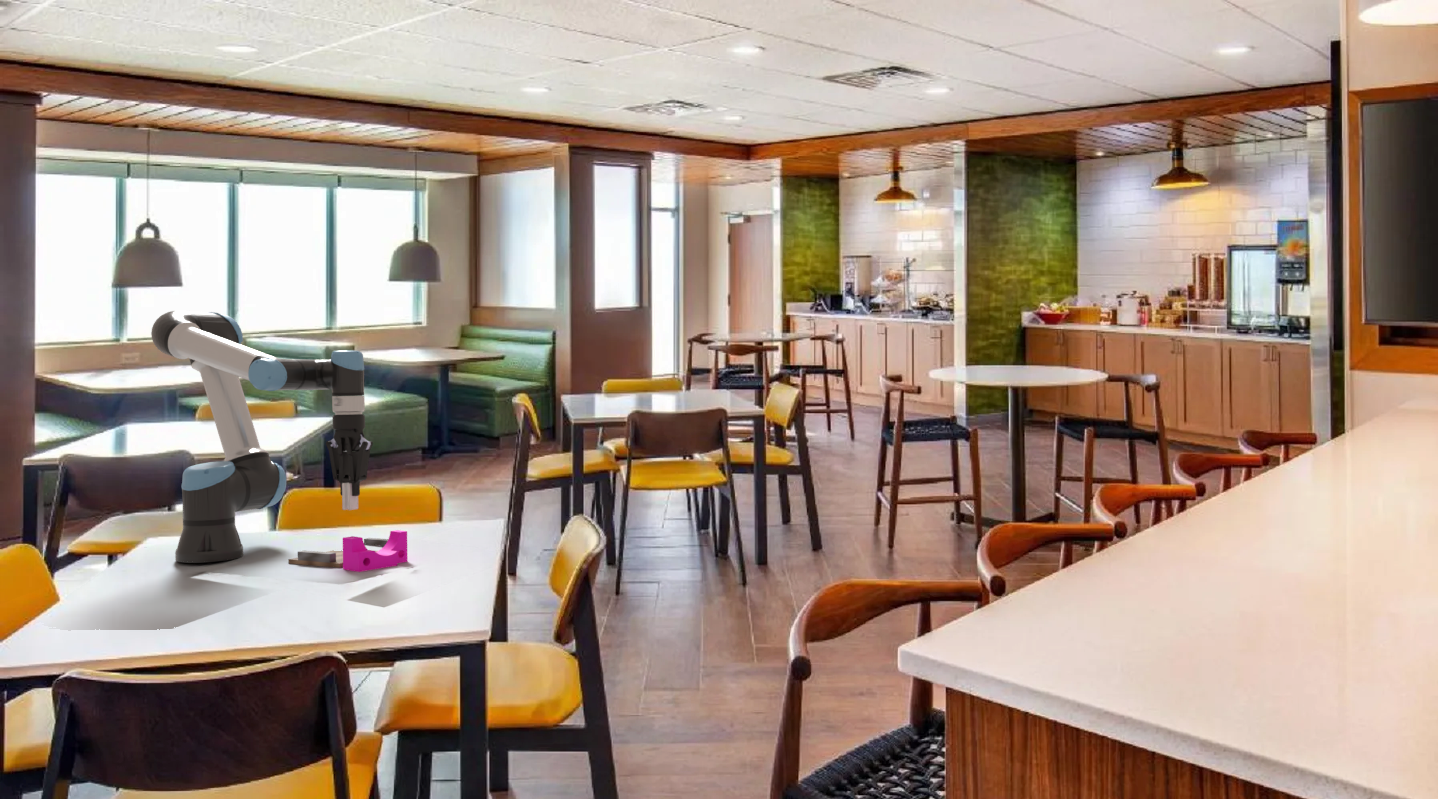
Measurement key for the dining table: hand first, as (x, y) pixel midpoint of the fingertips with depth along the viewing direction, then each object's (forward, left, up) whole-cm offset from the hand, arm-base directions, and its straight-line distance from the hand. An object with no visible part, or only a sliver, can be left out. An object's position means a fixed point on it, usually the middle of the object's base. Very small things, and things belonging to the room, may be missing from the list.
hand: (350, 509), depth 262 cm
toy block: (+15, -6, -12) cm, 20 cm away
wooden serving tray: (0, 0, -12) cm, 12 cm away
